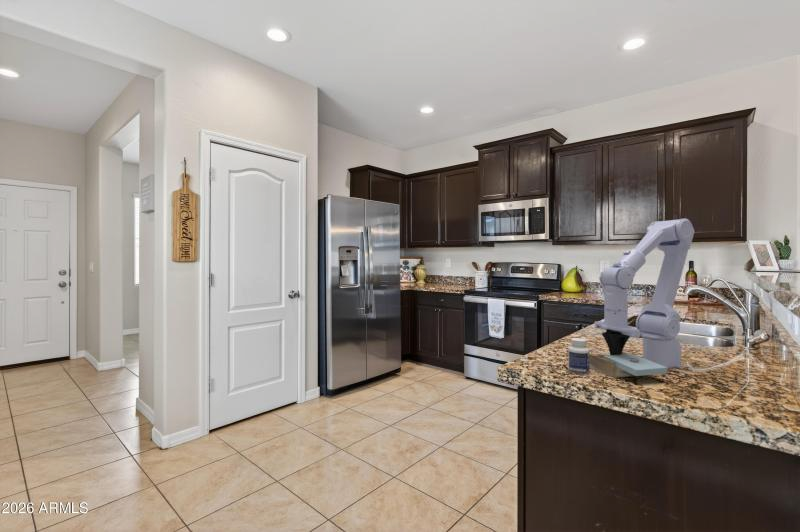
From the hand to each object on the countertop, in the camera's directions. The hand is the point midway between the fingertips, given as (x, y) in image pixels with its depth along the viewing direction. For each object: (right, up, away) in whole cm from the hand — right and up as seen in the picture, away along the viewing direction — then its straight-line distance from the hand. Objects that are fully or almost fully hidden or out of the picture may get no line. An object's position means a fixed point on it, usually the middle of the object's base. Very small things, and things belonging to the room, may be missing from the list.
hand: (615, 358), depth 108 cm
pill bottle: (-11, -5, 0) cm, 11 cm away
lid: (+1, -1, -6) cm, 6 cm away
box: (0, -4, +1) cm, 4 cm away
